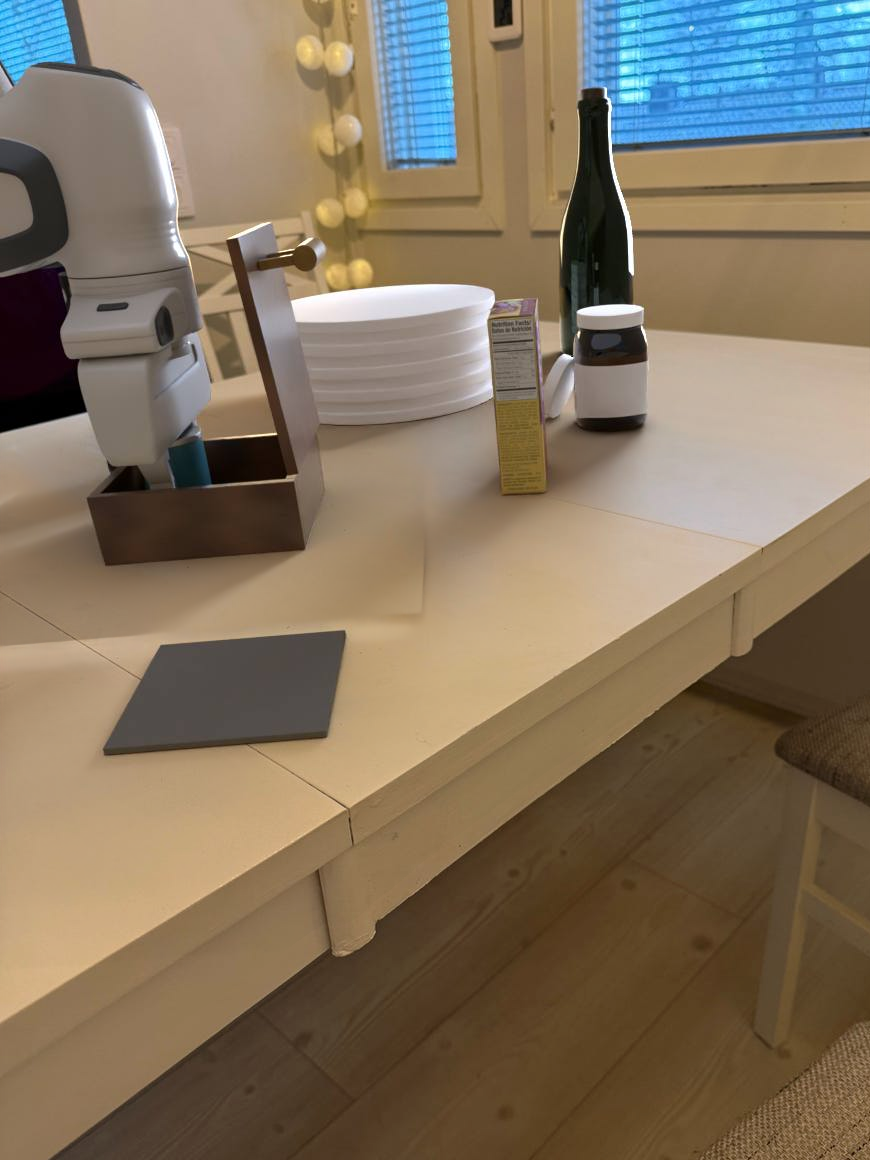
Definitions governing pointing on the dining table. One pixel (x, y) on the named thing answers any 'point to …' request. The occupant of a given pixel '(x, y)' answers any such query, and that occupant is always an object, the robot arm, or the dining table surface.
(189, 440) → the can
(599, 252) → the dark green wine bottle
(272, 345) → the lid
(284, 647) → the mat
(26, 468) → the dining table surface
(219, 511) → the storage box
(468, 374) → the plate stack
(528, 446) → the candy box
